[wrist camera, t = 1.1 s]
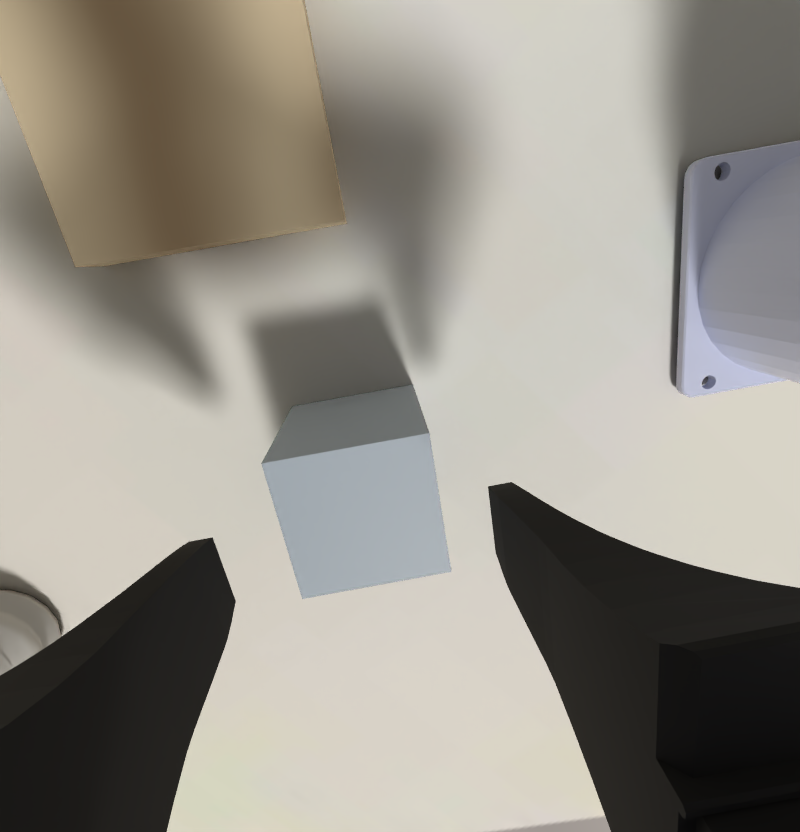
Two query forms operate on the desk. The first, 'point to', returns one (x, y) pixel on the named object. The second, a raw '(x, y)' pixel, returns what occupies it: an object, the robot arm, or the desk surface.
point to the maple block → (171, 122)
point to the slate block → (357, 492)
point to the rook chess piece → (24, 628)
